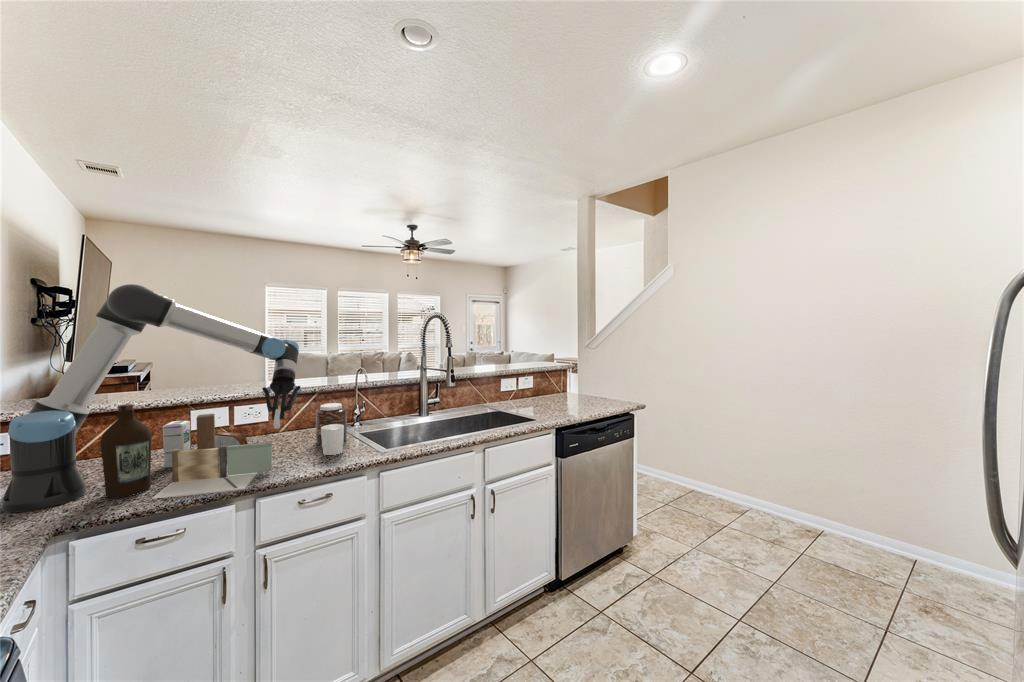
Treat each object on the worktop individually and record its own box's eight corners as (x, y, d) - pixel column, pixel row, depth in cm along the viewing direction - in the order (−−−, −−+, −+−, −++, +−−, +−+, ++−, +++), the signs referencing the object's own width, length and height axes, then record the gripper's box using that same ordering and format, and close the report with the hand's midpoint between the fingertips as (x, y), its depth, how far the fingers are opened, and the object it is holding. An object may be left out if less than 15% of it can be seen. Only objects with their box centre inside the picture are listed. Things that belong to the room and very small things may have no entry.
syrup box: (184, 466, 138) (183, 423, 137) (163, 468, 136) (162, 424, 136) (192, 460, 143) (190, 419, 143) (171, 462, 142) (170, 421, 141)
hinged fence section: (227, 475, 128) (226, 447, 127) (229, 474, 129) (228, 445, 128) (271, 471, 131) (270, 443, 131) (272, 469, 133) (271, 442, 132)
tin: (248, 455, 149) (248, 433, 149) (241, 458, 146) (240, 435, 146) (216, 452, 153) (215, 430, 153) (208, 455, 150) (207, 432, 150)
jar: (352, 441, 168) (351, 405, 167) (323, 447, 160) (322, 409, 159) (339, 435, 176) (339, 401, 176) (311, 441, 168) (310, 405, 167)
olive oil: (96, 494, 115) (92, 406, 114) (143, 481, 124) (141, 400, 123) (111, 502, 110) (108, 410, 109) (160, 488, 119) (157, 403, 118)
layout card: (151, 499, 112) (151, 497, 112) (176, 480, 126) (176, 478, 126) (244, 489, 119) (244, 488, 119) (258, 472, 133) (258, 470, 132)
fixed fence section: (171, 483, 123) (170, 451, 122) (174, 481, 125) (173, 449, 124) (225, 478, 127) (225, 446, 127) (227, 476, 129) (227, 445, 129)
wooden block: (180, 475, 130) (178, 419, 129) (182, 471, 134) (180, 416, 133) (215, 469, 135) (213, 415, 134) (216, 465, 138) (214, 413, 138)
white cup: (325, 458, 147) (324, 430, 146) (318, 452, 153) (318, 426, 152) (347, 453, 152) (347, 427, 152) (340, 448, 158) (339, 423, 158)
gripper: (304, 378, 164) (298, 430, 149) (267, 380, 160) (257, 433, 145) (301, 367, 158) (295, 419, 144) (263, 368, 154) (252, 422, 139)
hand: (276, 426), depth 144 cm, fingers closed
